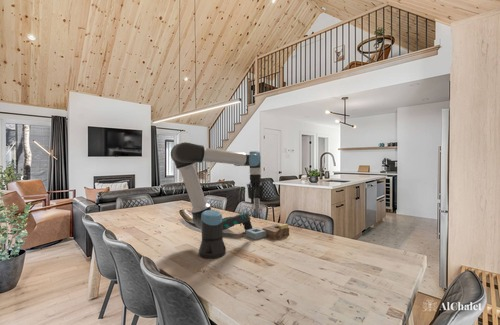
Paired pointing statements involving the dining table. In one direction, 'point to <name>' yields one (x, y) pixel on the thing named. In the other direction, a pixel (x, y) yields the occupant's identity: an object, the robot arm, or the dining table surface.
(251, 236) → the grey square holed block
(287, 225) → the tan rectangular bar
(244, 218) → the gun
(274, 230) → the socket block
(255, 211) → the steel round bar
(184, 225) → the dining table surface
